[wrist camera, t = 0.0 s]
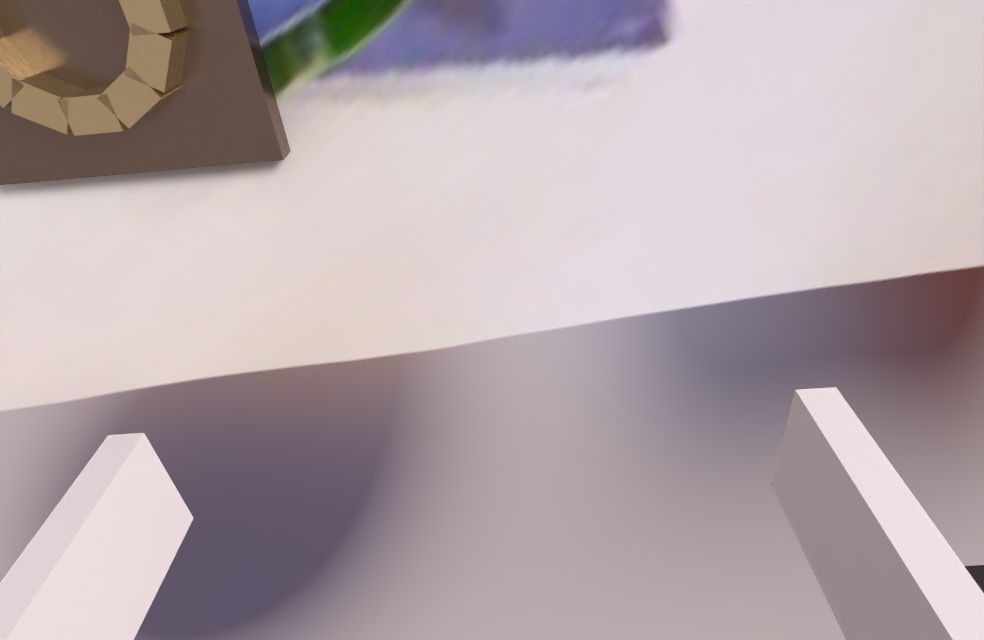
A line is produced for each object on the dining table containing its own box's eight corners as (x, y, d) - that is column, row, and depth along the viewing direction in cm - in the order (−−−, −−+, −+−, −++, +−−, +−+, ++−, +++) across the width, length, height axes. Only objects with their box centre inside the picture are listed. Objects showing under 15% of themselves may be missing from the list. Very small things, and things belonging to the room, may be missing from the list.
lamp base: (-192, -191, 28) (-270, -202, 25) (179, -238, 27) (142, -256, 24) (14, 176, 38) (-25, 197, 35) (290, 151, 37) (273, 171, 34)
